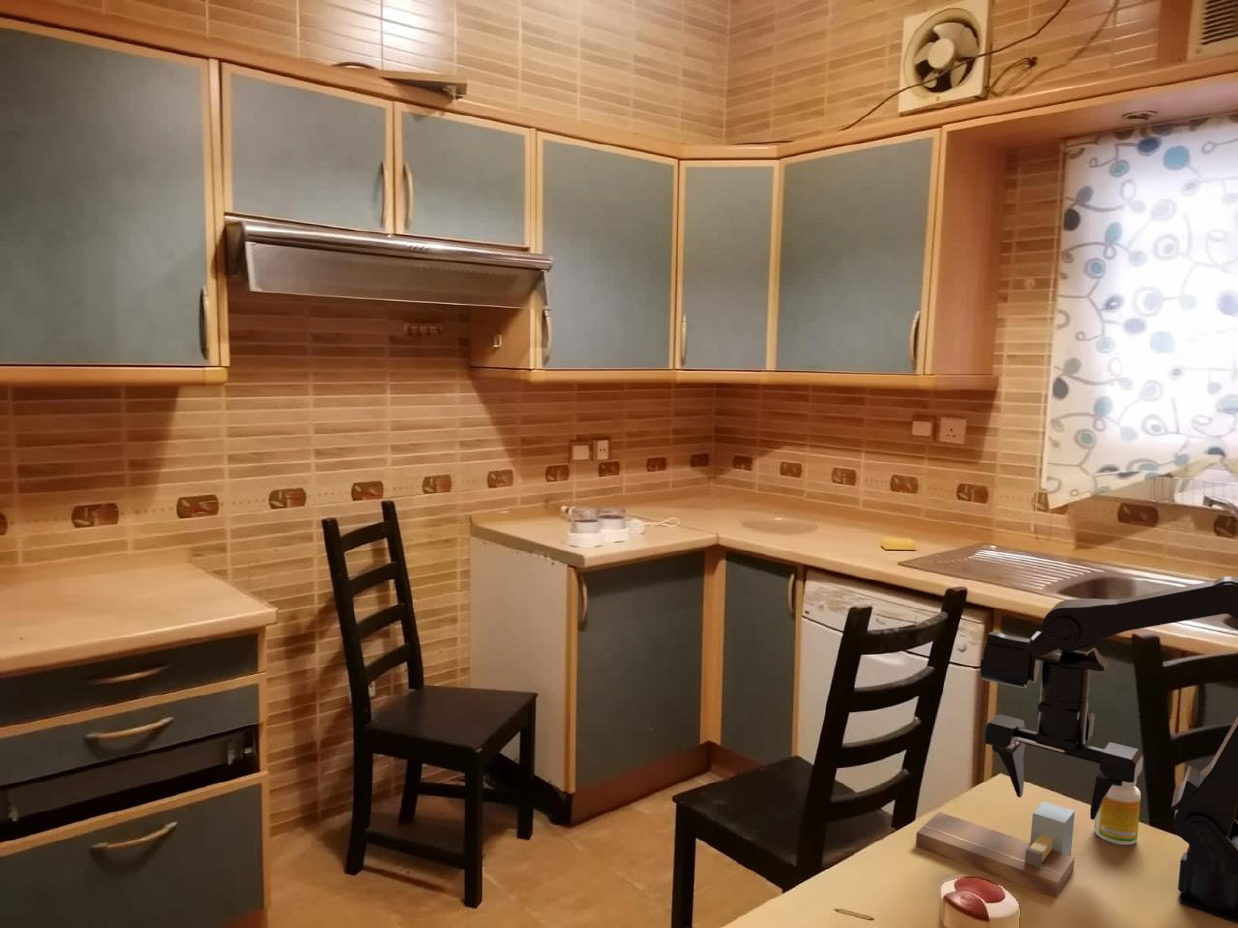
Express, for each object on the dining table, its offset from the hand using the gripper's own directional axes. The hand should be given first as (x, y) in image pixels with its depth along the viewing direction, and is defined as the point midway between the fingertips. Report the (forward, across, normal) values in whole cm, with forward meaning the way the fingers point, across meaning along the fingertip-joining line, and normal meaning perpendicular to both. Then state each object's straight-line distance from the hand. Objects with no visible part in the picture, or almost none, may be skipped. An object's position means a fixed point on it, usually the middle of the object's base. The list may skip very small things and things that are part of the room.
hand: (1055, 807), depth 122 cm
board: (+7, +6, +7) cm, 11 cm away
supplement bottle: (+7, -5, -12) cm, 15 cm away
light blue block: (+7, 0, +3) cm, 7 cm away
